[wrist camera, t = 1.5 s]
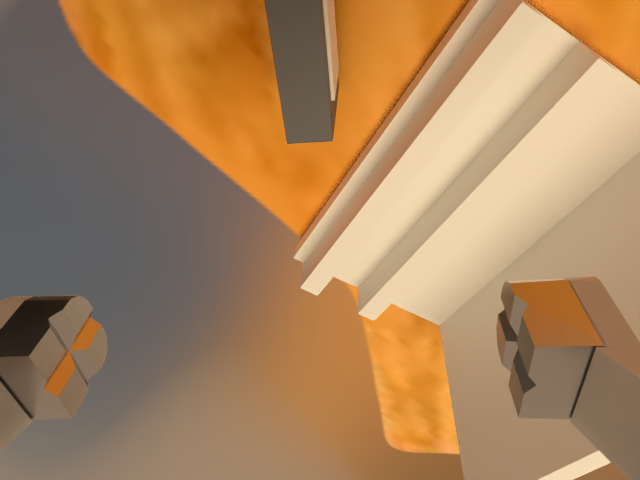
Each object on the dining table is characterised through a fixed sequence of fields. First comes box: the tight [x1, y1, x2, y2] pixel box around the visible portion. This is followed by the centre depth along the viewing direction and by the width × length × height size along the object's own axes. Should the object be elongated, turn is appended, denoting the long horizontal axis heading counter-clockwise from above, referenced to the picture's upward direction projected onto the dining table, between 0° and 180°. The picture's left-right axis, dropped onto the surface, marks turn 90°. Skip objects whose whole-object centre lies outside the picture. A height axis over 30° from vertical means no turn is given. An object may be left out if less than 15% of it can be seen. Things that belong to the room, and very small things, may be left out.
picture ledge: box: [294, 0, 640, 480], centre depth 29 cm, size 24×17×18 cm
